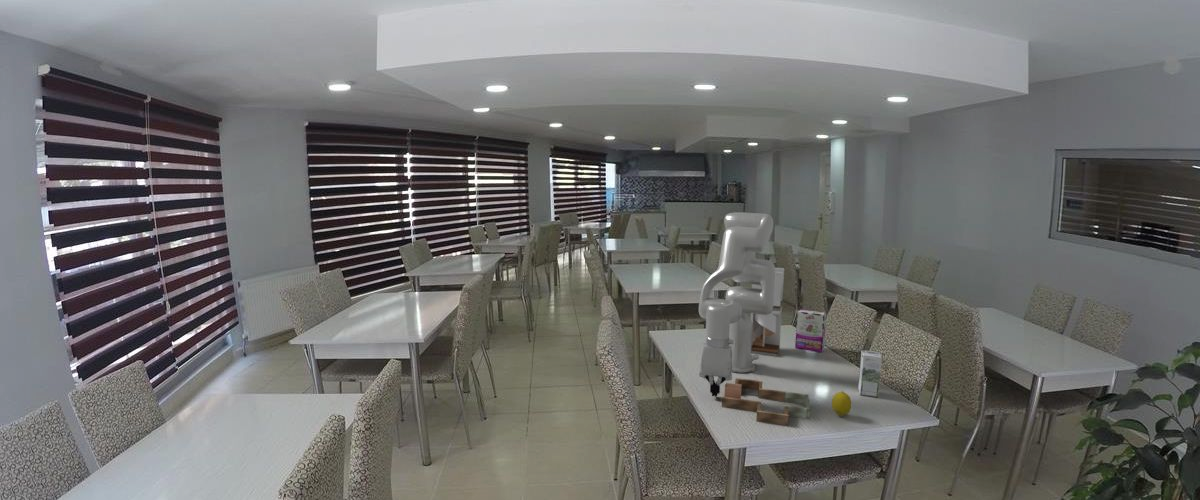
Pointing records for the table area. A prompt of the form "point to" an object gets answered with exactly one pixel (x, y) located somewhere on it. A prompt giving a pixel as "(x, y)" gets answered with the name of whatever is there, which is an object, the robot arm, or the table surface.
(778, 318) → the display case
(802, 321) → the candy bar box
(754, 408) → the wooden zigzag frame
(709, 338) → the robot arm
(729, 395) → the block
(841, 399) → the lemon
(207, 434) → the table surface
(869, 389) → the syrup box
